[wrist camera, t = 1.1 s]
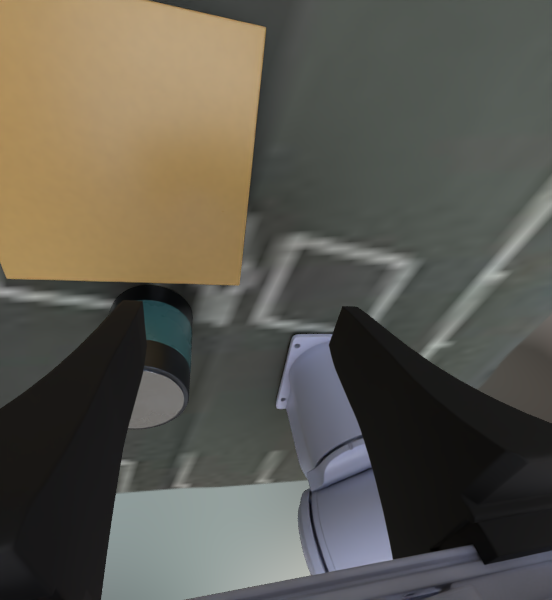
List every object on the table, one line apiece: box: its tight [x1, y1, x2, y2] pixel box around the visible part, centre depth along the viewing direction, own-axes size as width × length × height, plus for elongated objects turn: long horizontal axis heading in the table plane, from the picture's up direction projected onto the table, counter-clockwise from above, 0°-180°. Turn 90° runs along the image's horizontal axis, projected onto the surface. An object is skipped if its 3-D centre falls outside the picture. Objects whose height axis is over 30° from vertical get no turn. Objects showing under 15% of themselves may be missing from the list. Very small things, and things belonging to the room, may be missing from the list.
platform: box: [0, 0, 266, 285], centre depth 15 cm, size 12×12×2 cm
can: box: [108, 286, 193, 429], centre depth 19 cm, size 6×5×7 cm
